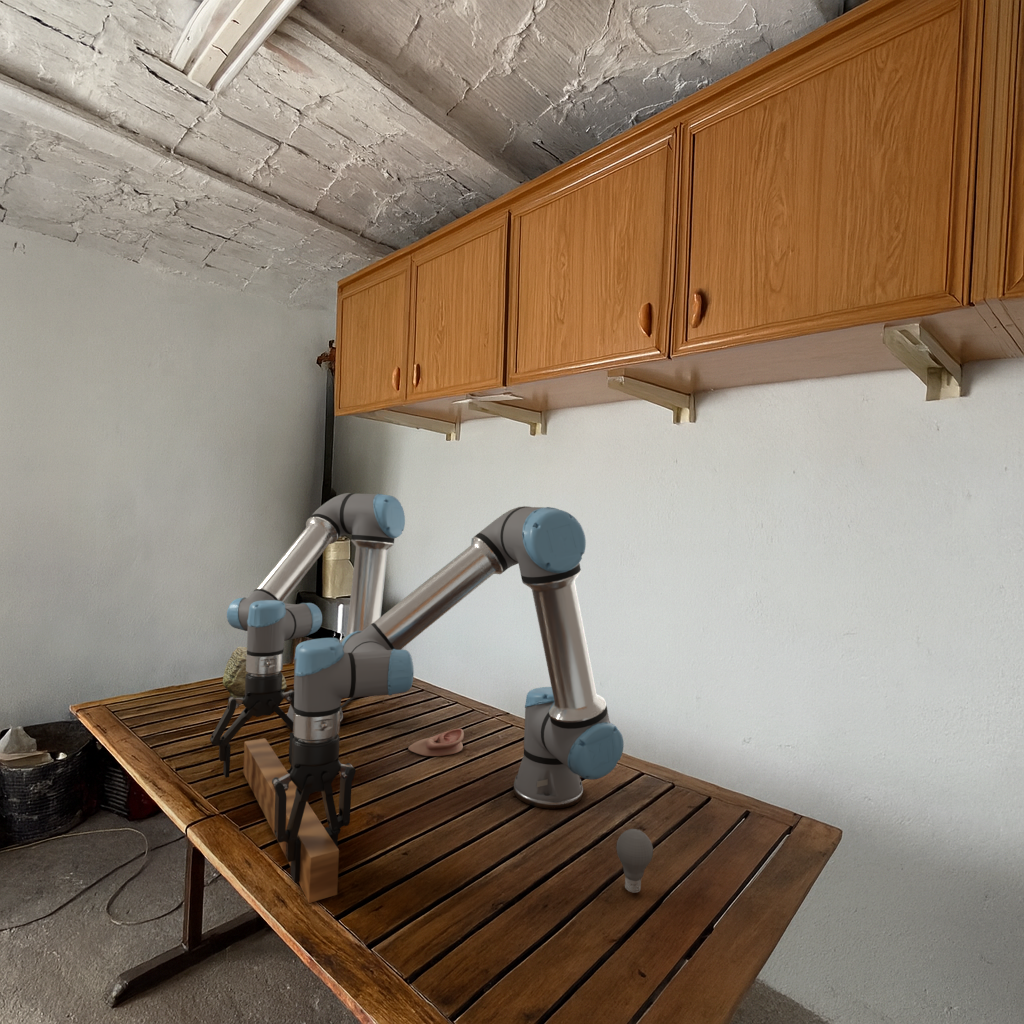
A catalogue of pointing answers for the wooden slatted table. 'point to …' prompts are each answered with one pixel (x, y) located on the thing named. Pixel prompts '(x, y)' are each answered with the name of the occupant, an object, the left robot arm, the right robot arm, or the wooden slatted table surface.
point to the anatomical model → (439, 744)
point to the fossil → (239, 673)
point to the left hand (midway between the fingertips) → (259, 769)
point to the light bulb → (634, 857)
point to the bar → (315, 841)
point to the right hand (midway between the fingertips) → (310, 873)
